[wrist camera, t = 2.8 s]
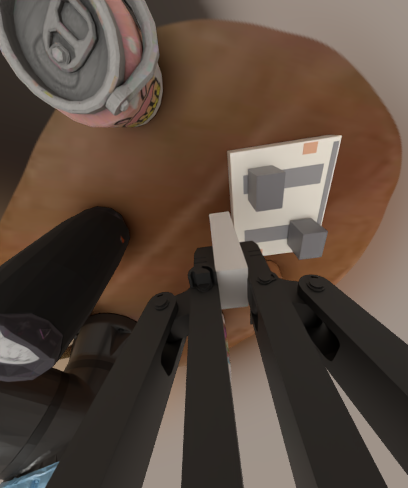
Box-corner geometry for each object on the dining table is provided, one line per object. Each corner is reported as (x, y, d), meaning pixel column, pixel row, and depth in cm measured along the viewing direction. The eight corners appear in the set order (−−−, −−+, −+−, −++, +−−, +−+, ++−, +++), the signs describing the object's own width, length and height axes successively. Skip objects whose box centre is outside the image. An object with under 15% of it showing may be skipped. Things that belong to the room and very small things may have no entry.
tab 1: (248, 200, 25) (256, 211, 21) (247, 168, 23) (256, 176, 19) (270, 197, 25) (282, 208, 21) (272, 165, 22) (285, 171, 19)
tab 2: (287, 244, 29) (299, 259, 25) (290, 220, 27) (303, 234, 23) (306, 241, 29) (321, 256, 25) (311, 218, 26) (327, 231, 23)
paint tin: (118, -13, 17) (-4, -231, 7) (187, 75, 20) (177, 23, 10) (71, 81, 20) (-58, 34, 10) (137, 144, 23) (92, 157, 13)
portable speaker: (134, 207, 28) (45, 325, 11) (132, 256, 33) (67, 389, 16) (73, 194, 26) (-131, 308, 10) (80, 248, 31) (-49, 383, 15)
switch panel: (233, 250, 33) (236, 259, 30) (227, 150, 24) (230, 153, 22) (308, 240, 32) (316, 249, 30) (328, 134, 23) (342, 135, 21)
